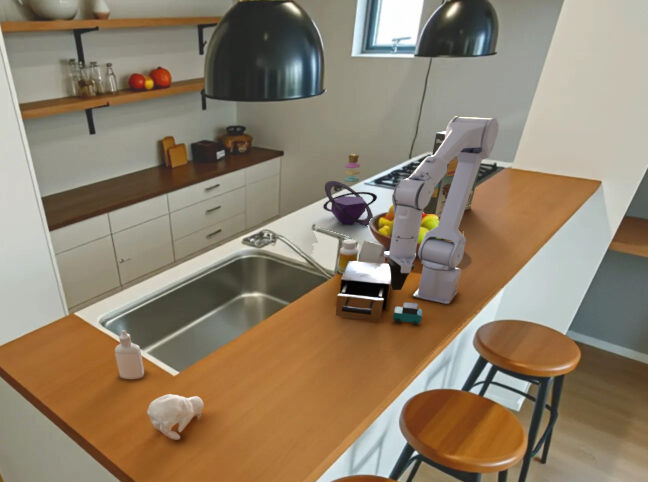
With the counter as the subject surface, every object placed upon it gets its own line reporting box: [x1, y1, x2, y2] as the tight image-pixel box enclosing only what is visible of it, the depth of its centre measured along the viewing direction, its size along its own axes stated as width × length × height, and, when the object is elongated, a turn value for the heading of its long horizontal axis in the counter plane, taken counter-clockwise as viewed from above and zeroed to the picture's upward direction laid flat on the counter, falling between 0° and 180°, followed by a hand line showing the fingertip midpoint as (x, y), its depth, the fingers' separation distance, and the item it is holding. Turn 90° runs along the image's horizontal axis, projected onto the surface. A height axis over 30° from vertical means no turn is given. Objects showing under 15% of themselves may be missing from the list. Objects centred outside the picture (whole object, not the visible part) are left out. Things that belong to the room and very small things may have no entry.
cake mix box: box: [423, 130, 482, 219], centre depth 182 cm, size 22×6×30 cm, turn 121°
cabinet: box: [339, 260, 392, 311], centre depth 133 cm, size 13×12×8 cm
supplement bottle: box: [337, 238, 359, 275], centre depth 147 cm, size 5×5×10 cm
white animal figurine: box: [146, 393, 205, 441], centre depth 92 cm, size 6×8×12 cm
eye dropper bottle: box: [114, 329, 145, 380], centre depth 107 cm, size 4×6×12 cm
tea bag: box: [357, 240, 386, 264], centre depth 144 cm, size 4×7×10 cm, turn 38°
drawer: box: [335, 282, 385, 322], centre depth 124 cm, size 17×11×6 cm, turn 157°
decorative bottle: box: [322, 153, 378, 226], centre depth 181 cm, size 22×21×25 cm
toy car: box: [392, 301, 423, 327], centre depth 121 cm, size 6×4×5 cm, turn 67°
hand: (396, 288), depth 117 cm, fingers closed
